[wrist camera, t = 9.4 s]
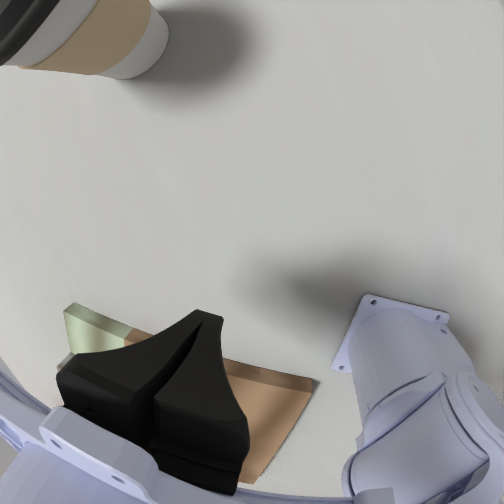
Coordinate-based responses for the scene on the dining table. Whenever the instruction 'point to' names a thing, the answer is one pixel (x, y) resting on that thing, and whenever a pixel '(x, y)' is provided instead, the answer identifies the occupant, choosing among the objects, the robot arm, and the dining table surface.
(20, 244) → the dining table surface
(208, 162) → the dining table surface
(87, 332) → the board
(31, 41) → the coffee cup
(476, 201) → the dining table surface
